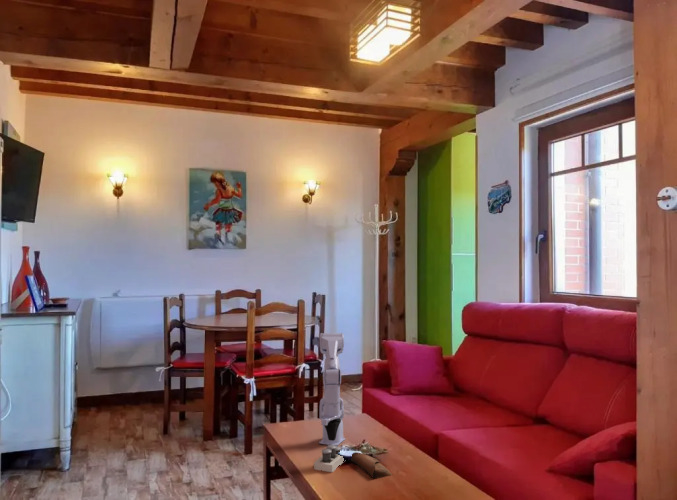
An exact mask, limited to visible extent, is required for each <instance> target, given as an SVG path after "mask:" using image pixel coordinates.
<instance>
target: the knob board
mask: <svg viewBox="0 0 677 500" xmlns="http://www.w3.org/2000/svg"><path fill="white" fill-rule="evenodd" d="M343 461H344V458H343V456H340V455H336V457H335V458H331V461H330V462H323V461H322V455H321V456H320V457H319V458H318V459H316V460H315V461H314V462H313V470H315V471H321V470H322V472H326V473H327V472H328V473H334V471H336V468H337V467H338V466H339V465H340V466H341V465H342V464H343V463H344V462H345V461H344V462H343ZM340 466H339V467H340ZM339 467H338V468H339ZM338 468H337V469H338Z"/></svg>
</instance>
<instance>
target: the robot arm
mask: <svg viewBox="0 0 677 500" xmlns="http://www.w3.org/2000/svg"><path fill="white" fill-rule="evenodd" d="M344 338H345V337H344V333H343V332H341V333H340V332H338V333H333V332H331V333H330V332H329V333H325V332H324V333H323V332H320V334H319V351H320V353H321V354H322V355H324V356H325V358H324V361H323V362H324V364H323V365H324V368H323V369H324V370H323V371H322V372H323V373H322V382H323V397H322V398H321V399H320V401H319V419H320V420H321V423H320V424H321V426H322V439H321V440H319V442H318V444H319V445H320V444H321V445H327V446H328V445H335V446H338V447H339V445H340V444H341V443H342V442H344V441H345V440H346V438H345V437H344V422H343V419H344V415H345V412H344V411H345V410H344V408H345V407H344V405H345V404H344V400H343V398H341V384H342V370H341V368H340V367H341V366H340V358H339V357H338V356H339V355H340V354H342V353H343V351H344V345H345V341H344V340H345V339H344Z"/></svg>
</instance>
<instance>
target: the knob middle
mask: <svg viewBox="0 0 677 500" xmlns="http://www.w3.org/2000/svg"><path fill="white" fill-rule="evenodd" d="M336 448H337V447H336V446H335V445H327V446H326V449H330V450H332V452H331V458H335V457H336Z"/></svg>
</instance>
